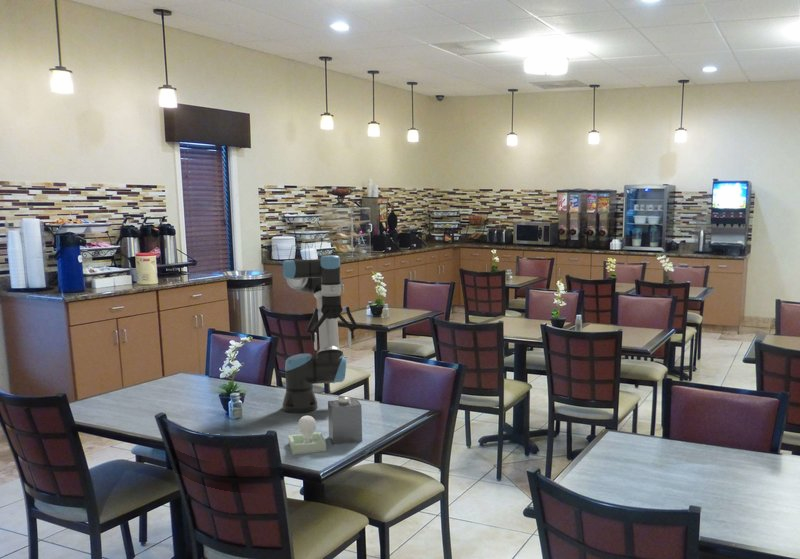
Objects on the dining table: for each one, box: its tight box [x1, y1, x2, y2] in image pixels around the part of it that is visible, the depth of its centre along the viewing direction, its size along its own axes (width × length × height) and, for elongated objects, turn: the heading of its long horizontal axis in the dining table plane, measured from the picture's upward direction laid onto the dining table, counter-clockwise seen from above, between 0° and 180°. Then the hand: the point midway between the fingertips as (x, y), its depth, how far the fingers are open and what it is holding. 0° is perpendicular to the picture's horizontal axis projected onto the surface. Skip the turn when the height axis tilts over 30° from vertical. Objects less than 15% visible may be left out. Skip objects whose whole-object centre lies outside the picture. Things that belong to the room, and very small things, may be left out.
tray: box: [288, 431, 327, 455], centre depth 250 cm, size 12×12×3 cm
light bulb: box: [297, 415, 317, 444], centre depth 250 cm, size 7×7×11 cm
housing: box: [327, 395, 363, 446], centre depth 258 cm, size 9×11×16 cm
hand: (332, 348), depth 270 cm, fingers open, 13 cm apart
